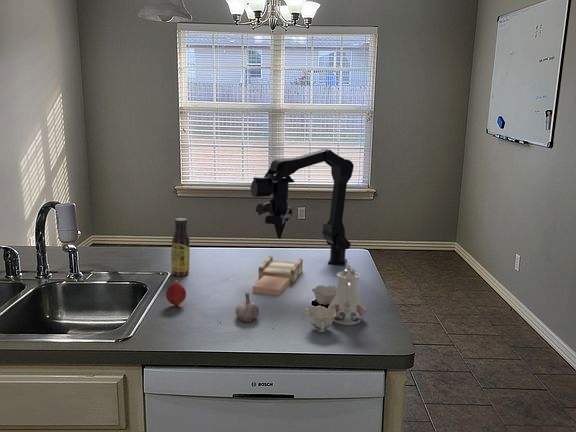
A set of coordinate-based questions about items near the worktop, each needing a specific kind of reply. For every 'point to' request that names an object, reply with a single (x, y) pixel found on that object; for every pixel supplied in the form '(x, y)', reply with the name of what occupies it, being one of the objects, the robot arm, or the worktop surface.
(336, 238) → the robot arm
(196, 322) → the worktop surface
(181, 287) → the onion
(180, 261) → the sauce bottle
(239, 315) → the garlic bulb
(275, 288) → the cover plate
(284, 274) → the birch box
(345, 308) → the chinaware
